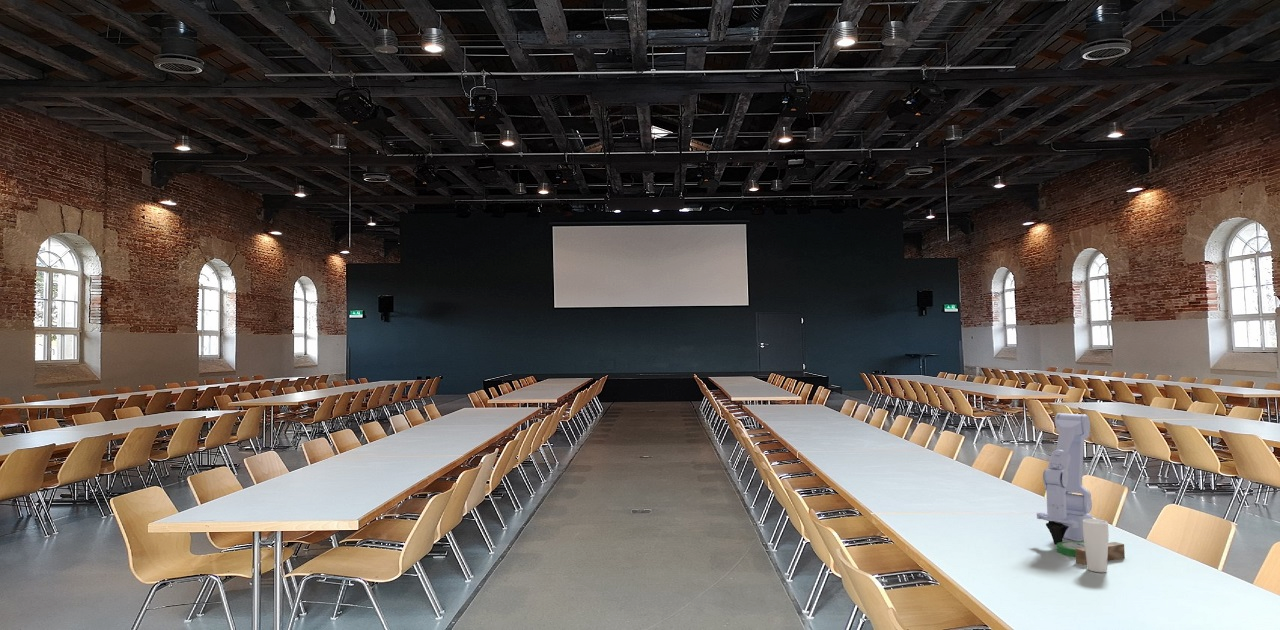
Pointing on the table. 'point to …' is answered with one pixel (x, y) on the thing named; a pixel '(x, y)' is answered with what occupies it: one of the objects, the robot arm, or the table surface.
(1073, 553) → the tape roll
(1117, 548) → the brown wooden bar
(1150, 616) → the table surface
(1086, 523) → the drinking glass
